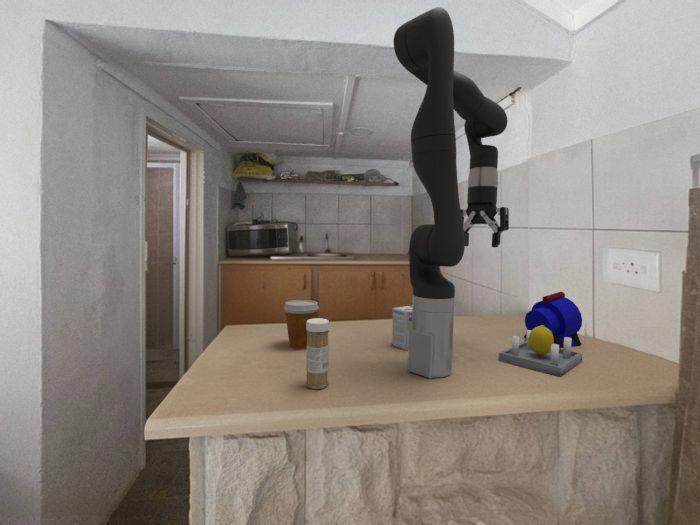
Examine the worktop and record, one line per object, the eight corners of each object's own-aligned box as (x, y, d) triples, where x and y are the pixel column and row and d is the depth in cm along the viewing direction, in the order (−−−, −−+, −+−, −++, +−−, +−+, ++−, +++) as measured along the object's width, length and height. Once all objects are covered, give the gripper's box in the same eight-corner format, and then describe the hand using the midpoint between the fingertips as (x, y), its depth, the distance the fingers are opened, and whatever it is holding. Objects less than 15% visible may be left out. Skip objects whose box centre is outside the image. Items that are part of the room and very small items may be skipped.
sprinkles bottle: (317, 379, 77) (318, 316, 76) (332, 385, 74) (334, 320, 73) (300, 385, 74) (301, 319, 73) (315, 392, 70) (316, 323, 69)
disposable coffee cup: (299, 339, 107) (300, 298, 106) (325, 345, 101) (326, 302, 100) (276, 346, 99) (276, 303, 98) (302, 353, 93) (302, 307, 93)
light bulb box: (418, 339, 109) (419, 303, 108) (435, 345, 103) (436, 307, 102) (390, 344, 103) (391, 306, 102) (406, 351, 97) (407, 311, 97)
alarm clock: (583, 345, 106) (586, 294, 105) (553, 349, 101) (556, 296, 100) (546, 334, 117) (549, 288, 116) (517, 338, 113) (520, 289, 112)
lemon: (540, 360, 88) (543, 328, 87) (522, 353, 93) (525, 322, 93) (557, 359, 90) (560, 327, 89) (539, 352, 95) (541, 322, 95)
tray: (560, 376, 81) (561, 350, 80) (498, 360, 91) (499, 336, 91) (582, 361, 92) (583, 337, 91) (524, 348, 102) (525, 326, 102)
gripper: (451, 187, 101) (449, 246, 102) (502, 182, 90) (499, 247, 91) (465, 189, 106) (463, 245, 107) (515, 185, 95) (512, 247, 96)
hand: (479, 246), depth 99 cm, fingers open, 8 cm apart
